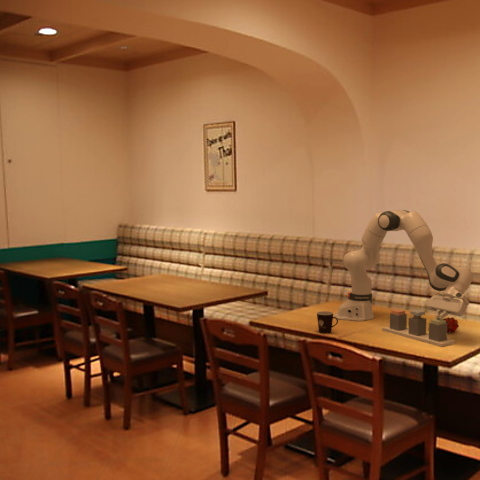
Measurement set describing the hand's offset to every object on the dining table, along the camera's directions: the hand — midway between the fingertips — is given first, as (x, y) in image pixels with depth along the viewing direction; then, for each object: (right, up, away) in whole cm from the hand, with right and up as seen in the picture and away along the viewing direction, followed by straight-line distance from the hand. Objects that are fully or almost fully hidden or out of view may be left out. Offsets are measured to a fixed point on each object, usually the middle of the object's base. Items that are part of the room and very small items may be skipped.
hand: (438, 318), depth 298 cm
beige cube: (-7, -2, +11) cm, 13 cm away
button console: (-7, -11, +12) cm, 17 cm away
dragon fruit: (+12, -10, +20) cm, 25 cm away
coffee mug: (-51, -10, +23) cm, 57 cm away
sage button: (0, -5, +1) cm, 5 cm away
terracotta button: (-14, -3, +22) cm, 26 cm away
